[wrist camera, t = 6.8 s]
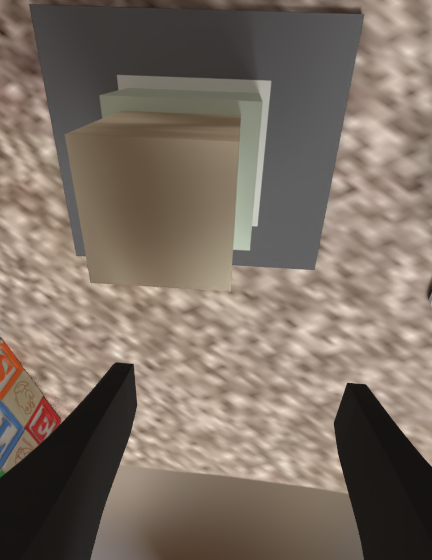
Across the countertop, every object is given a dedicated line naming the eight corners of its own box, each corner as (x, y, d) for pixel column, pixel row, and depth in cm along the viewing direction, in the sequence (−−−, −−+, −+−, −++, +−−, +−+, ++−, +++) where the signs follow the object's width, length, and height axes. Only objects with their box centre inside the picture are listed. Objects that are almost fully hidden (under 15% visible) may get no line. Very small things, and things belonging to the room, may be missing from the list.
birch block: (240, 115, 14) (238, 141, 9) (234, 228, 16) (230, 291, 12) (120, 110, 14) (64, 134, 9) (131, 223, 16) (90, 282, 12)
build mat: (362, 14, 15) (364, 14, 15) (313, 267, 21) (314, 270, 21) (32, 5, 16) (29, 4, 16) (78, 253, 22) (76, 255, 22)
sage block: (259, 92, 17) (262, 101, 13) (249, 217, 20) (249, 250, 16) (128, 87, 17) (99, 95, 14) (139, 211, 20) (117, 242, 17)
